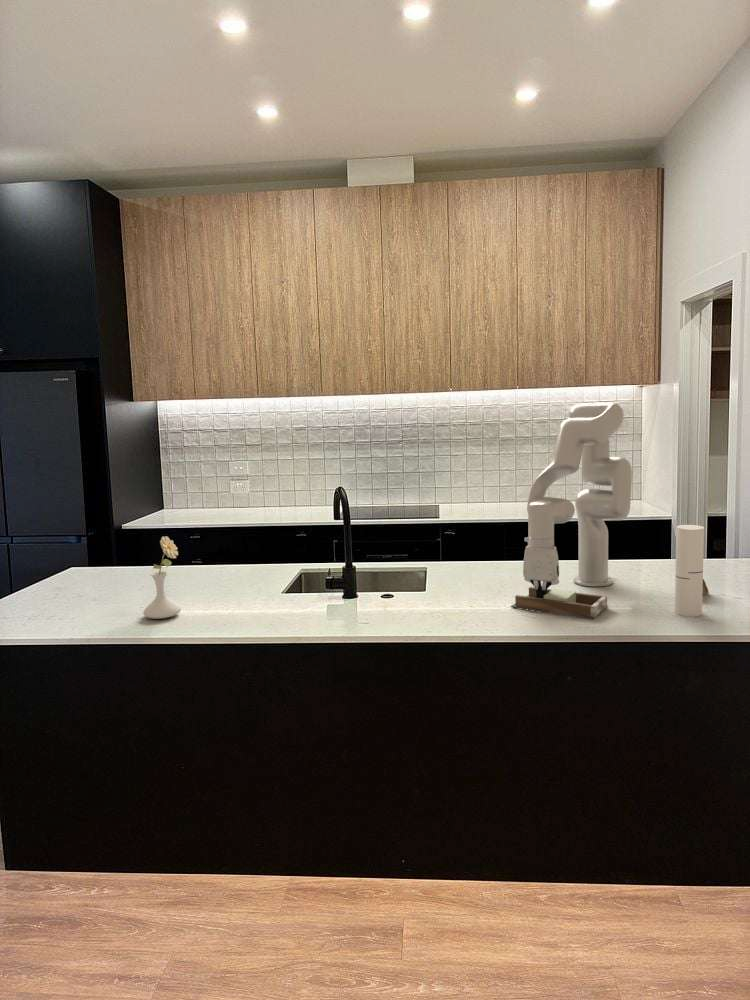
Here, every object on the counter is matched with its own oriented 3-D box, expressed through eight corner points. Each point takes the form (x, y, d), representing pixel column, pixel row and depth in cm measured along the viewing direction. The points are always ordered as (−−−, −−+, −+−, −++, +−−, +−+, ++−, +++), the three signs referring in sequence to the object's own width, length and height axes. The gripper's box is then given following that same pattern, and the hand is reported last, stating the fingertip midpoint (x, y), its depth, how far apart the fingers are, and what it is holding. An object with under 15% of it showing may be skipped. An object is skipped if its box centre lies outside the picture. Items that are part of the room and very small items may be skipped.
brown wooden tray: (528, 596, 228) (527, 585, 227) (607, 607, 214) (608, 595, 213) (511, 607, 217) (510, 596, 217) (593, 619, 203) (594, 607, 203)
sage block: (553, 600, 221) (553, 588, 220) (576, 603, 217) (576, 591, 216) (543, 607, 214) (543, 595, 213) (566, 610, 210) (566, 598, 209)
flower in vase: (161, 624, 217) (153, 543, 213) (135, 619, 223) (128, 540, 219) (193, 611, 228) (186, 534, 224) (168, 607, 234) (161, 532, 230)
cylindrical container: (704, 616, 202) (707, 529, 198) (677, 616, 203) (679, 529, 200) (698, 608, 209) (700, 524, 205) (672, 608, 210) (674, 524, 206)
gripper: (513, 542, 217) (513, 601, 220) (560, 547, 208) (560, 608, 211) (523, 538, 223) (523, 595, 226) (569, 542, 214) (570, 601, 217)
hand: (541, 601), depth 219 cm, fingers closed
